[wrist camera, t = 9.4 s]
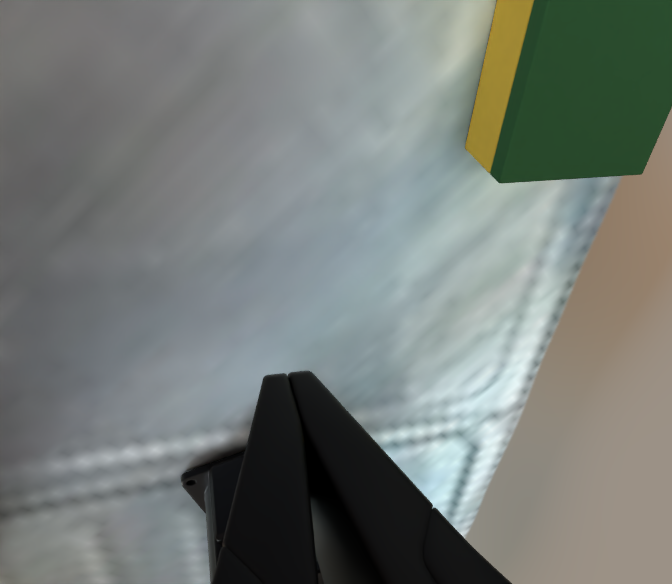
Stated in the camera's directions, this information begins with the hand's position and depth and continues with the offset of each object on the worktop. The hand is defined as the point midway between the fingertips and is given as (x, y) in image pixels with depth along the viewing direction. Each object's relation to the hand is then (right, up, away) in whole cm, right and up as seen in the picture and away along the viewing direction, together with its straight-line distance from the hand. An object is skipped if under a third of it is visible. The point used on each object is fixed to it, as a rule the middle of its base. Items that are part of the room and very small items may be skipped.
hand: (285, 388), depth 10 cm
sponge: (+9, +11, +10) cm, 18 cm away
